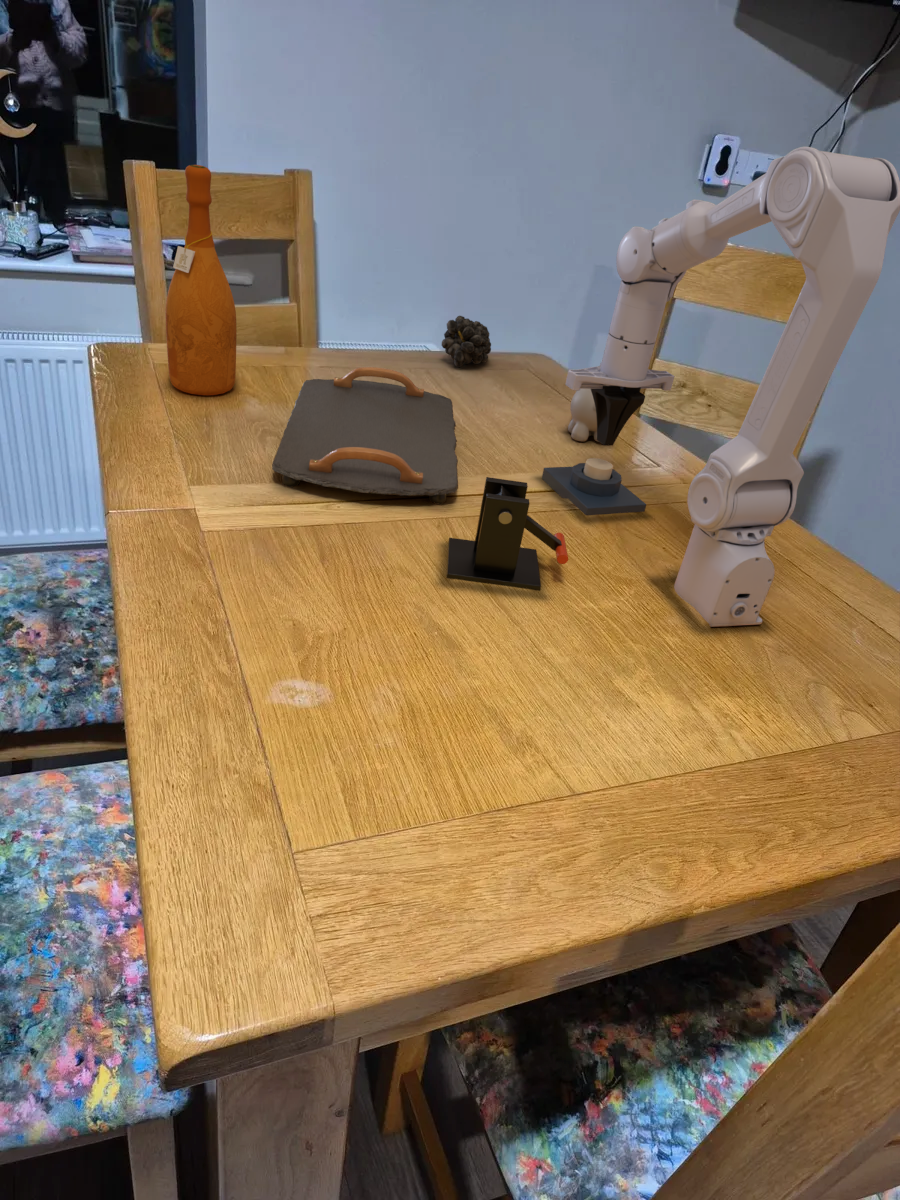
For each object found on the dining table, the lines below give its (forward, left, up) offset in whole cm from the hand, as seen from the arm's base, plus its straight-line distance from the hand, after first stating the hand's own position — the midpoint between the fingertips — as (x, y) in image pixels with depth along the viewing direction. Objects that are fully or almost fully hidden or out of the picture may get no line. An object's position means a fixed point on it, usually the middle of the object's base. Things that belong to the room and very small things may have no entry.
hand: (604, 442), depth 107 cm
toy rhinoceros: (+23, -9, -8) cm, 26 cm away
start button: (0, 0, -5) cm, 5 cm away
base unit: (0, 0, -8) cm, 8 cm away
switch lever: (-19, +18, -3) cm, 26 cm away
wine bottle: (+36, +49, -8) cm, 61 cm away
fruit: (+59, +3, -5) cm, 59 cm away
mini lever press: (-18, +20, -8) cm, 28 cm away
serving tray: (+15, +27, -8) cm, 32 cm away
